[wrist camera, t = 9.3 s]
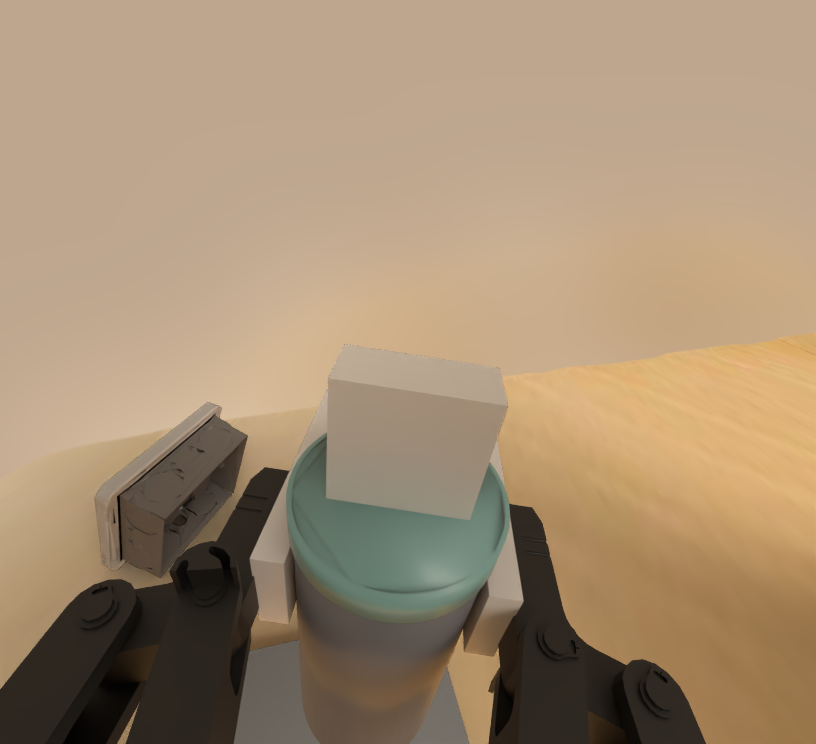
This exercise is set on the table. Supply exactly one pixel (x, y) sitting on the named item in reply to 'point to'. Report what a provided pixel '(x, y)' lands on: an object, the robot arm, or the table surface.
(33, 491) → the table surface
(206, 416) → the electrical switch
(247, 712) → the pad
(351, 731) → the trash can
